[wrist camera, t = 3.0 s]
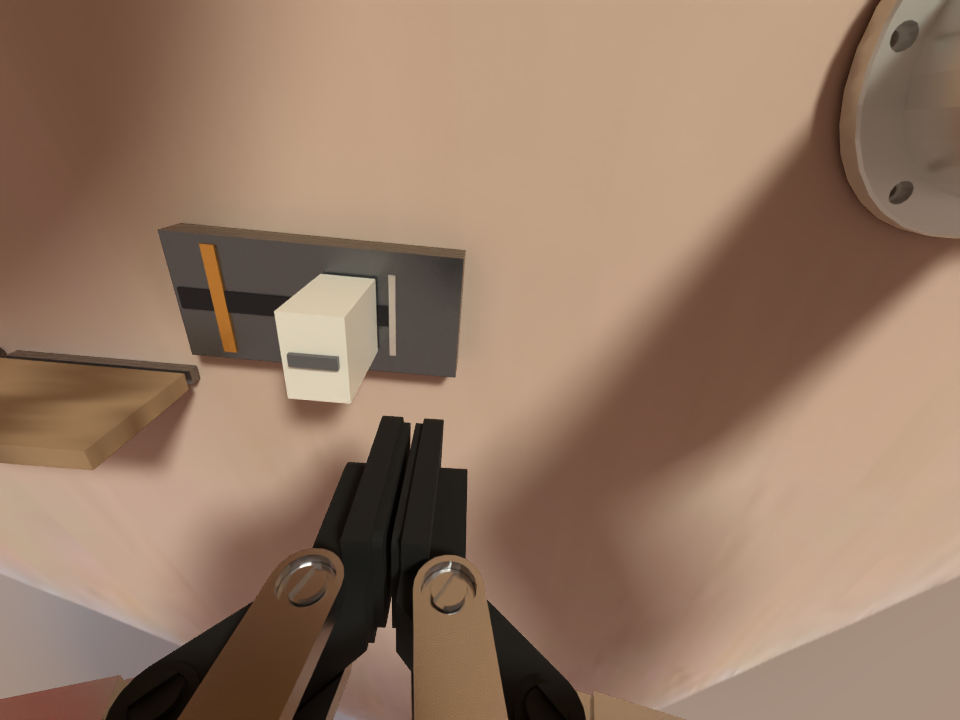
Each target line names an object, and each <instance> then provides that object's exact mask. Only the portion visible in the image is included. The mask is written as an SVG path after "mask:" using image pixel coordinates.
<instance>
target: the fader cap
mask: <svg viewBox="0 0 960 720" xmlns="http://www.w3.org/2000/svg"><path fill="white" fill-rule="evenodd" d="M274 314H275V321H276V327H277V333H278V339H279V345H280V352H281V358H282V364H283V370H284V376H285V383H286V389H287V395H288V398H289V399H301V400H313V401H324V402H336V403H348V404H351V402H352V400H353V398H354V396H355V394H356V392H357V391H358V389H359V387H360V385H361V383H362V381H363V379H364V377H365V375H366V373H367V371H368V369H369V367H370V365H371V363H372V362H373V360H374V358H375V356H376V354H377V352H378V344H377V314H376V283H375V279H370V278H360V277H349V276H338V275H328V274H320V275H318V276H317V277H316V278H315V279H313V280H312V281H311V282H310V283H308V284H307V285H306V286H305V287H303V288H302V289H301V290H300V291H299V292H297V293H296V294H295V295H294V296H292V297H291V298H290V299H289V300H287V301H286V302H285V303H284V304H282V305H281V306H280V307H279V308H278V309H276V310H275V311H274Z"/></svg>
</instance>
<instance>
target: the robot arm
mask: <svg viewBox="0 0 960 720" xmlns="http://www.w3.org/2000/svg"><path fill="white" fill-rule="evenodd" d="M839 130H840V154H841V159H842V162H843V166H844V169H845V173H846V177H847V180H848V183H849V184H850V186H851V188H852V189H853V191H854V193H855V194H856V196H857V198H858V199H859V201H860V203H861V204H863V205H864V206H865V207H866V208H867V209H868V210H869V211H870V212H871V213H872V214H873V215H874V216H876V217H877V218H878V219H880V220H882V221H884V222H886V223H888V224H890V225H892V226H894V227H896V228H898V229H902V230H906V231H910V232H914V233H918V234H922V235H926V236H934V237H944V238H954V239H956V238H960V0H881V1H880V3H879V4H878V6H877V7H876V9H875V11H874V14H873V16H872V18H871V20H870V22H869V24H868V26H867V29H866V31H865V33H864V35H863V37H862V39H861V41H860V43H859V46H858V48H857V50H856V53H855V56H854V60H853V63H852V66H851V69H850V72H849V76H848V79H847V82H846V85H845V88H844V95H843V102H842V109H841V116H840V122H839ZM443 424H444V420H439V419H424V422H423V424H420V423H416V425H415V430H414V435H413V440H412V444H411V449H410V429H411V426H410V423H405V422H404V419H403V417H394V416H383V417H382V419H381V422H380V425H379V428H378V431H377V434H376V436H375V439H374V442H373V445H372V448H371V451H370V454H369V457H368V460H367V463H356V462H348V463H347V465H346V467H345V469H344V471H343V473H342V476H341V478H340V481H339V483H338V486H337V488H336V491H335V493H334V496H333V498H332V501H331V503H330V506H329V508H328V511H327V513H326V516H325V518H324V521H323V523H322V526H321V528H320V531H319V533H318V535H317V538H316V540H315V543H314V545H313V548H311V549H307V550H302V551H299V552H297V553H295V554H293V555H291V556H289V557H288V558H286V559H285V560H284V561H283V562H281V563H280V564H279V565H278V566H277V568H276V569H275V570H274V571H273V572H272V574H271V575H270V577H269V578H268V580H267V581H266V583H265V585H264V586H263V588H262V589H261V591H260V592H259V594H258V595H257V597H256V598H255V600H254V601H253V602H252V603H250V604H248V605H247V606H245V607H244V608H242V609H240V610H239V611H237V612H236V613H234V614H232V615H231V616H229V617H228V618H226V619H224V620H223V621H221V622H220V623H218V624H216V625H215V626H213V627H212V628H210V629H208V630H207V631H205V632H204V633H202V634H200V635H199V636H197V637H196V638H194V639H193V640H191V641H189V642H188V643H186V644H185V645H183V646H181V647H180V648H178V649H177V650H175V651H173V652H172V653H170V654H169V655H167V656H165V657H164V658H162V659H161V660H159V661H158V662H156V663H154V664H153V665H151V666H149V667H148V668H147V669H145V670H144V671H143V672H141V673H140V674H139V675H138V676H136V677H135V678H131V679H126V680H123V678H122V677H121V675H118V676H113V677H108V678H103V679H98V680H93V681H88V682H83V683H78V684H74V685H69V686H64V687H59V688H54V689H49V690H44V691H39V692H34V693H29V694H25V695H20V696H14V697H9V698H5V699H0V720H333V718H334V715H335V713H336V710H337V707H338V705H339V702H340V699H341V697H342V694H343V691H344V689H345V686H346V683H347V680H348V678H349V675H350V672H351V667H352V663H353V661H355V660H356V659H357V658H358V657H359V656H361V655H362V654H363V653H364V652H365V651H366V650H367V647H368V643H374V641H375V636H376V631H377V627H383V628H385V627H386V623H387V618H388V613H389V608H390V602H391V597H392V628H396V652H397V653H398V654H399V656H400V657H401V658H402V660H403V661H404V663H405V664H406V665H407V667H408V668H409V669H410V671H411V720H685V719H682V718H679V717H676V716H673V715H669V714H666V713H663V712H660V711H657V710H653V709H650V708H647V707H644V706H641V705H637V704H634V703H631V702H628V701H625V700H621V699H618V698H615V697H612V696H609V695H605V694H602V693H599V692H596V691H594V692H593V694H592V695H589V694H586V693H583V692H580V691H576V690H574V688H573V687H572V686H571V684H570V683H569V682H568V681H567V680H566V679H565V678H564V677H563V676H562V675H561V674H560V673H559V672H558V671H557V670H556V669H555V668H554V667H553V666H552V665H551V664H550V663H549V662H548V661H547V660H546V659H545V658H544V657H543V656H542V655H541V654H540V653H539V652H538V651H537V650H536V649H535V647H534V646H533V645H532V644H531V643H530V642H529V641H528V640H527V639H526V638H525V637H524V636H523V635H522V634H521V633H520V632H519V631H518V630H517V629H516V628H515V627H514V626H513V625H512V624H511V623H510V622H509V621H508V620H507V619H506V618H505V617H504V616H503V615H502V614H501V613H500V612H499V611H498V610H497V609H496V608H495V607H494V606H493V605H492V604H491V603H490V602H489V601H488V600H487V598H486V592H485V586H484V582H483V579H482V576H481V573H480V572H479V571H478V569H477V568H476V567H475V565H474V564H472V563H471V562H470V561H468V560H467V559H465V556H466V512H467V469H453V468H441V457H442V441H443Z"/></svg>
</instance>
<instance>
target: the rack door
mask: <svg viewBox="0 0 960 720" xmlns="http://www.w3.org/2000/svg"><path fill="white" fill-rule="evenodd" d="M188 390H189V388H188V385H187V382H186V378H185V375H184V374H183V373H172V372H160V371H148V370H137V369H125V368H113V367H102V366H90V365H79V364H67V363H55V362H44V361H32V360H20V359H9V358H0V463H9V464H21V465H34V466H46V467H59V468H72V469H84V470H94V469H95V468H96V467H98V466H99V465H100V464H101V463H102V462H104V461H105V460H106V459H107V458H108V457H110V456H111V455H112V454H113V453H114V452H115V451H117V450H118V449H119V448H120V447H121V446H123V445H124V444H125V443H126V442H127V441H129V440H130V439H131V438H132V437H133V436H134V435H136V434H137V433H138V432H139V431H140V430H142V429H143V428H144V427H145V426H146V425H148V424H149V423H150V422H151V421H152V420H153V419H155V418H156V417H157V416H158V415H159V414H161V413H162V412H163V411H164V410H165V409H167V408H168V407H169V406H170V405H171V404H173V403H174V402H175V401H176V400H177V399H178V398H180V397H181V396H182V395H183V394H184V393H186V392H187V391H188Z"/></svg>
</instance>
